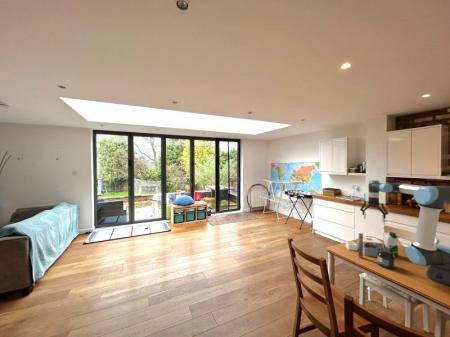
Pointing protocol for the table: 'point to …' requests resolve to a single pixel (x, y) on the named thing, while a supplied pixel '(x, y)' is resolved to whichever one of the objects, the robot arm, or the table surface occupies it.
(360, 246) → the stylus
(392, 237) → the milk carton
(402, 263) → the table surface
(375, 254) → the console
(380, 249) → the supplement container
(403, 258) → the table surface
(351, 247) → the holder
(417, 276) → the table surface
